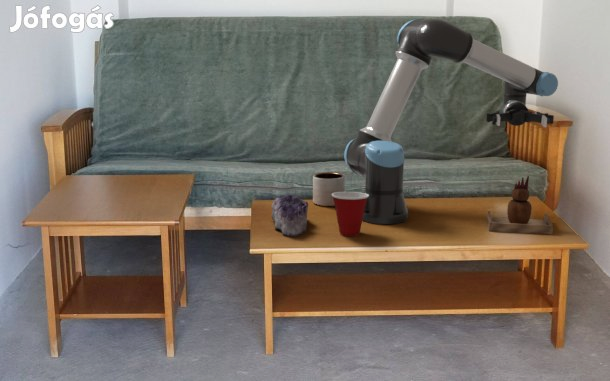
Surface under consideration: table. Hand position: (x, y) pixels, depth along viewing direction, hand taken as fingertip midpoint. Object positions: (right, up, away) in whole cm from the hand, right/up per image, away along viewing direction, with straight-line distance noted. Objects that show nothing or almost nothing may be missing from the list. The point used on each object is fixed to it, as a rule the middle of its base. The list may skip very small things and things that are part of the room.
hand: (522, 122), depth 211 cm
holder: (-2, -31, -3) cm, 32 cm away
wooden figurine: (-2, -31, -3) cm, 31 cm away
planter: (-58, -25, +25) cm, 68 cm away
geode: (-70, -32, -2) cm, 77 cm away
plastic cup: (-53, -33, -8) cm, 63 cm away
